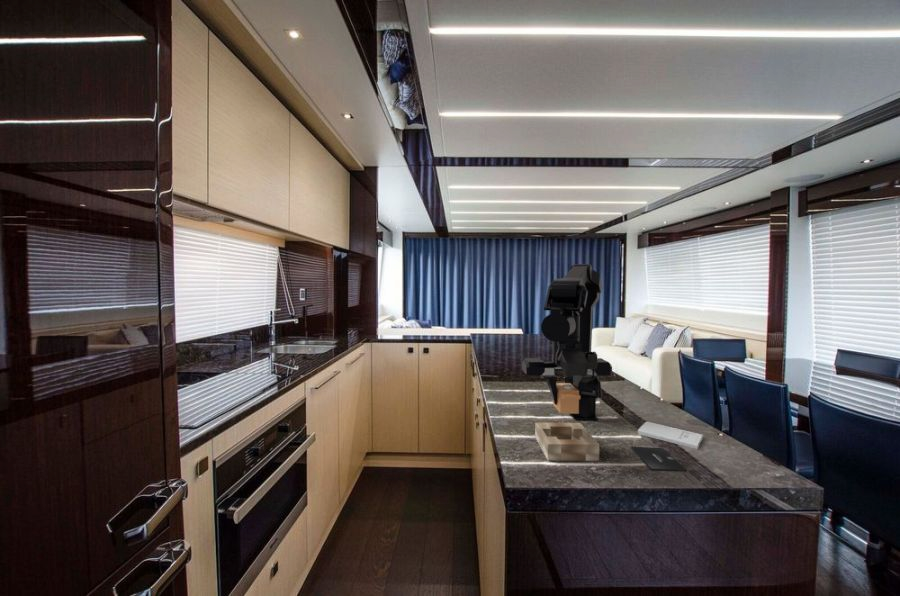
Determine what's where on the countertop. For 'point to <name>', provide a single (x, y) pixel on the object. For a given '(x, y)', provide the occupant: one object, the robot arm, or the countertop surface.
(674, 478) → the countertop surface
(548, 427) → the beige notched square frame
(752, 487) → the countertop surface
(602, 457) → the countertop surface
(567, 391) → the block
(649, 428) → the external hard drive
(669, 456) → the solid state drive
